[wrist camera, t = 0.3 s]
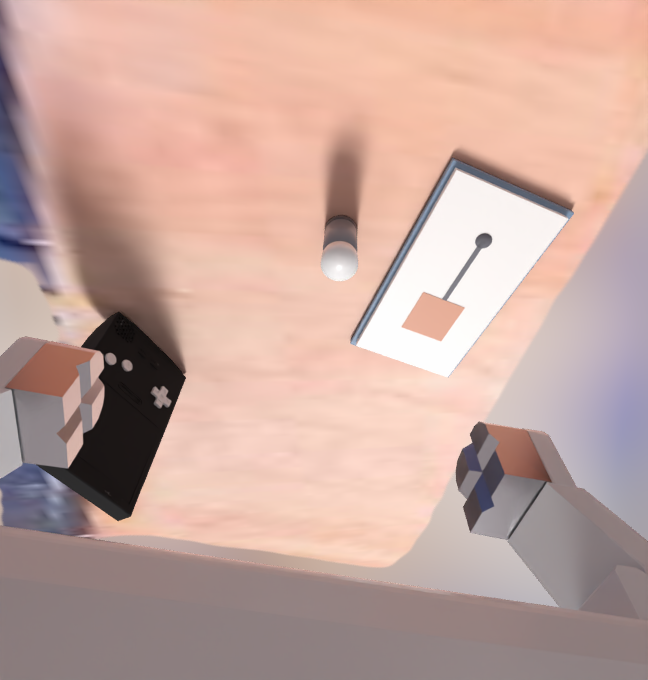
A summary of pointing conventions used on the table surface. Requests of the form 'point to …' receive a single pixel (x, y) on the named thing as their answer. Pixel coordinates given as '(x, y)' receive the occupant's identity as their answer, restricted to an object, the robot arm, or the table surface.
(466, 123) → the table surface
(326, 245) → the white-topped grey cylinder
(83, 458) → the handheld gaming console
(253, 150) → the table surface
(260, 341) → the table surface
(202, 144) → the table surface
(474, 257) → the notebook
